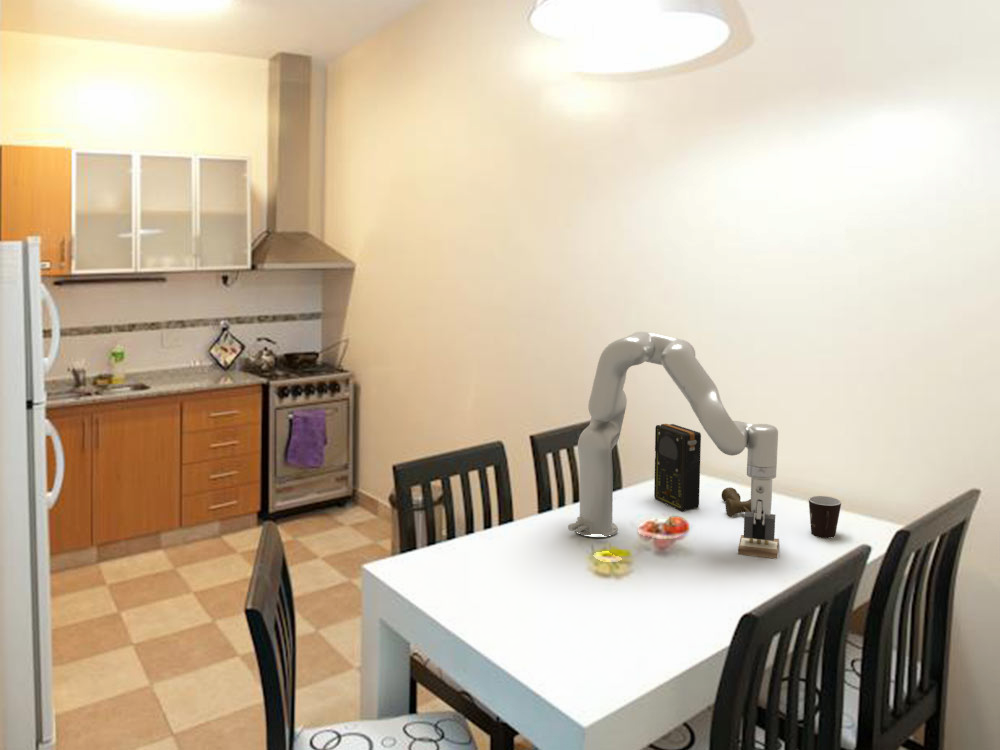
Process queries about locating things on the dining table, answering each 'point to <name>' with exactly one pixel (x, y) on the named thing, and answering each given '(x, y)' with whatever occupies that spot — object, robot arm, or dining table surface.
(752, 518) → the plug housing
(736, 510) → the kendama
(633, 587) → the dining table surface
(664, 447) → the voltmeter
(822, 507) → the coffee mug
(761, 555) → the pin board
